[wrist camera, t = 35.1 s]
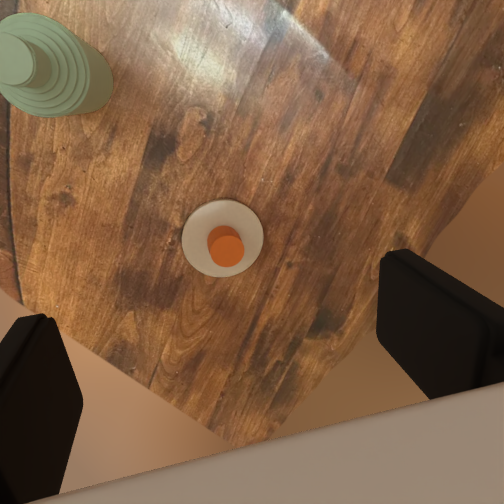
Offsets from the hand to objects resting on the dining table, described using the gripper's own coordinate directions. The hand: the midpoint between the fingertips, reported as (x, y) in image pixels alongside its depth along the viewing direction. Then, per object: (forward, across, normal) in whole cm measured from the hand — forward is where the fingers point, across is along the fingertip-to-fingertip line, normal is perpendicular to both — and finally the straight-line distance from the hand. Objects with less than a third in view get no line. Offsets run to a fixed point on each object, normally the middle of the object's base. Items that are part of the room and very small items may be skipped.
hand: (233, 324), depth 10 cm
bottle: (+33, +9, -9) cm, 36 cm away
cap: (+32, -3, +10) cm, 34 cm away
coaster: (+33, -3, +10) cm, 35 cm away
